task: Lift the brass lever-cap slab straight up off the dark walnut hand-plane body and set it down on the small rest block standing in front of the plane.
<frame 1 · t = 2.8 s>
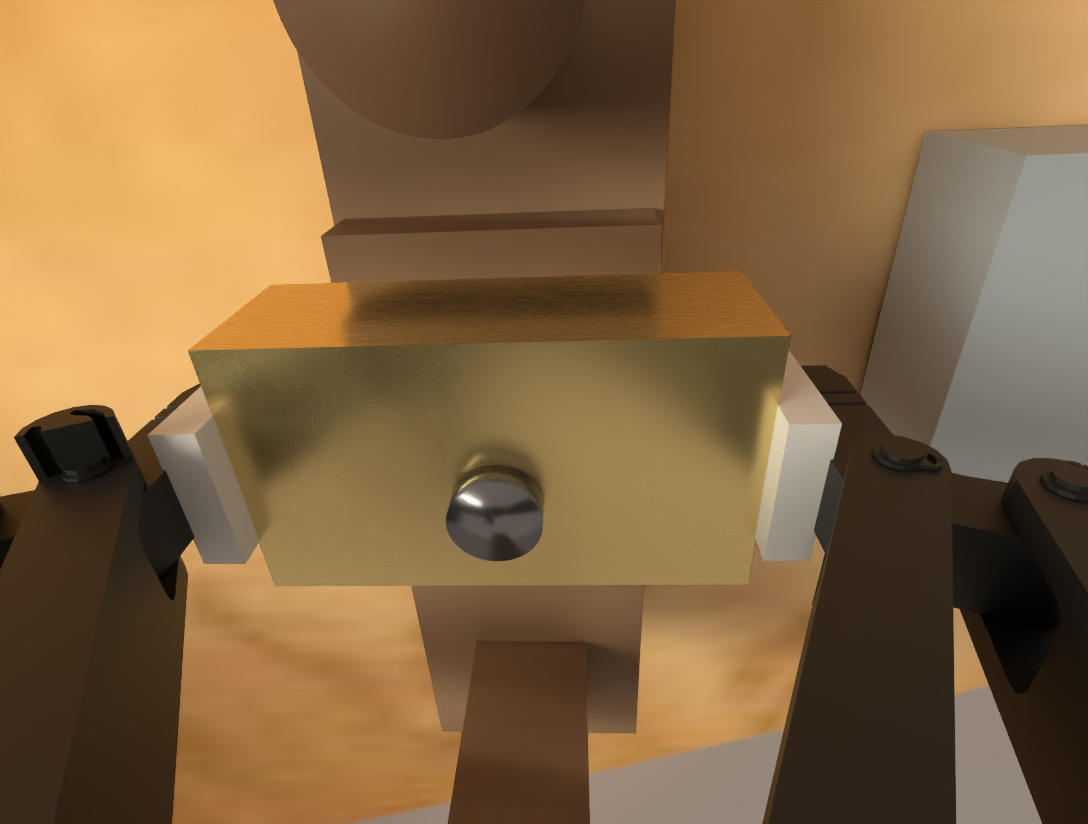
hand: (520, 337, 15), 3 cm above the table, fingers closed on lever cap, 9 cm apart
plane body: (529, 326, 19), on the table
rest block: (967, 282, 17), on the table
lever cap: (510, 393, 13), point 6 cm above the table, touching gripper, plane body
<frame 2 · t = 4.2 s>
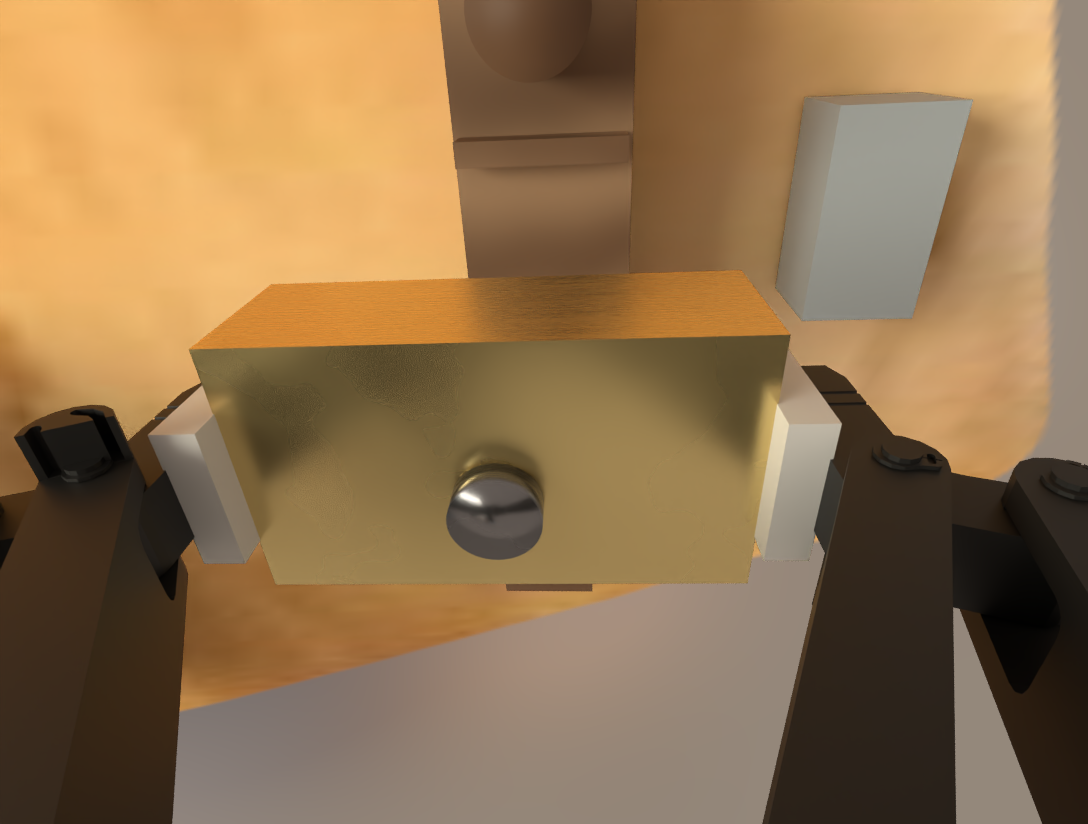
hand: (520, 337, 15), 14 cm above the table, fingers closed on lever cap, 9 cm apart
plane body: (553, 230, 28), on the table
rest block: (840, 198, 27), on the table
lever cap: (510, 392, 13), point 17 cm above the table, touching gripper
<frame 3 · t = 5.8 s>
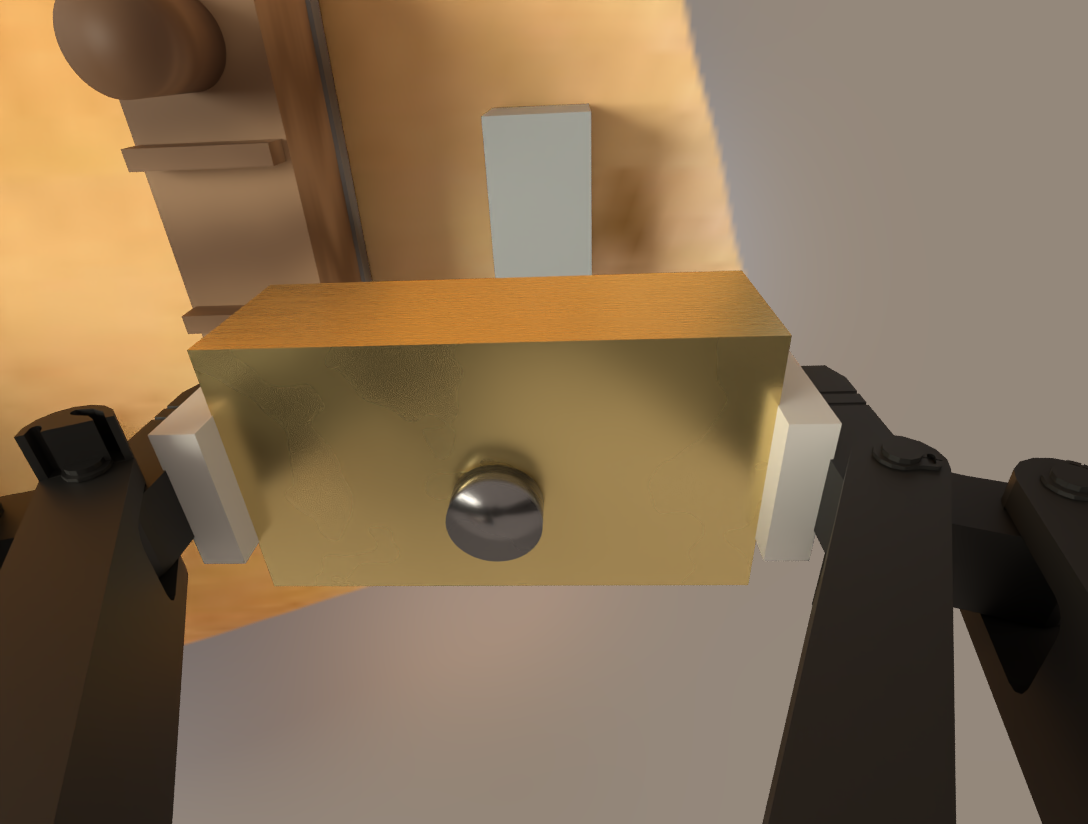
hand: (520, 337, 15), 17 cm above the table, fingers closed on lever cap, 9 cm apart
plane body: (299, 226, 31), on the table
rest block: (543, 196, 30), on the table
lever cap: (510, 393, 13), point 20 cm above the table, touching gripper
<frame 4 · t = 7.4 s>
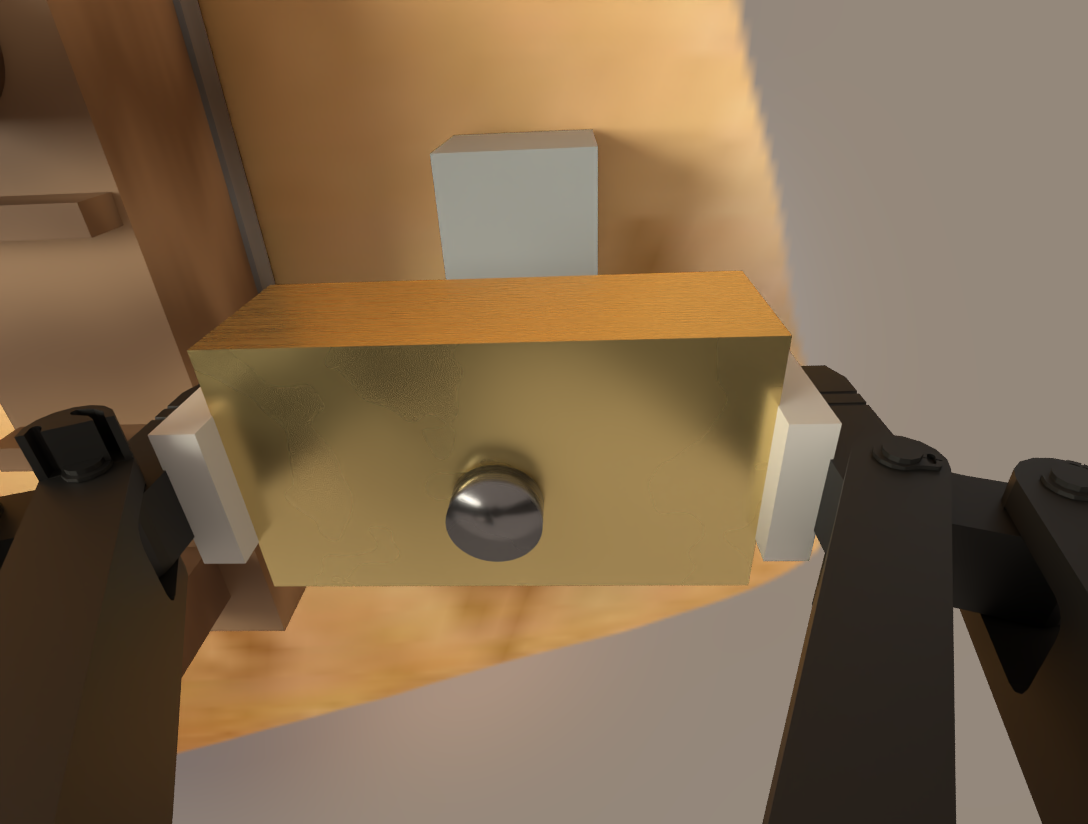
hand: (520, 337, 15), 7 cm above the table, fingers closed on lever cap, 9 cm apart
plane body: (192, 295, 23), on the table
rest block: (529, 256, 22), on the table
lever cap: (510, 393, 13), point 10 cm above the table, touching gripper
when the fingers open (2 cm above the table, at t = 8.9 s): lever cap drops 1 cm, resting on rest block.
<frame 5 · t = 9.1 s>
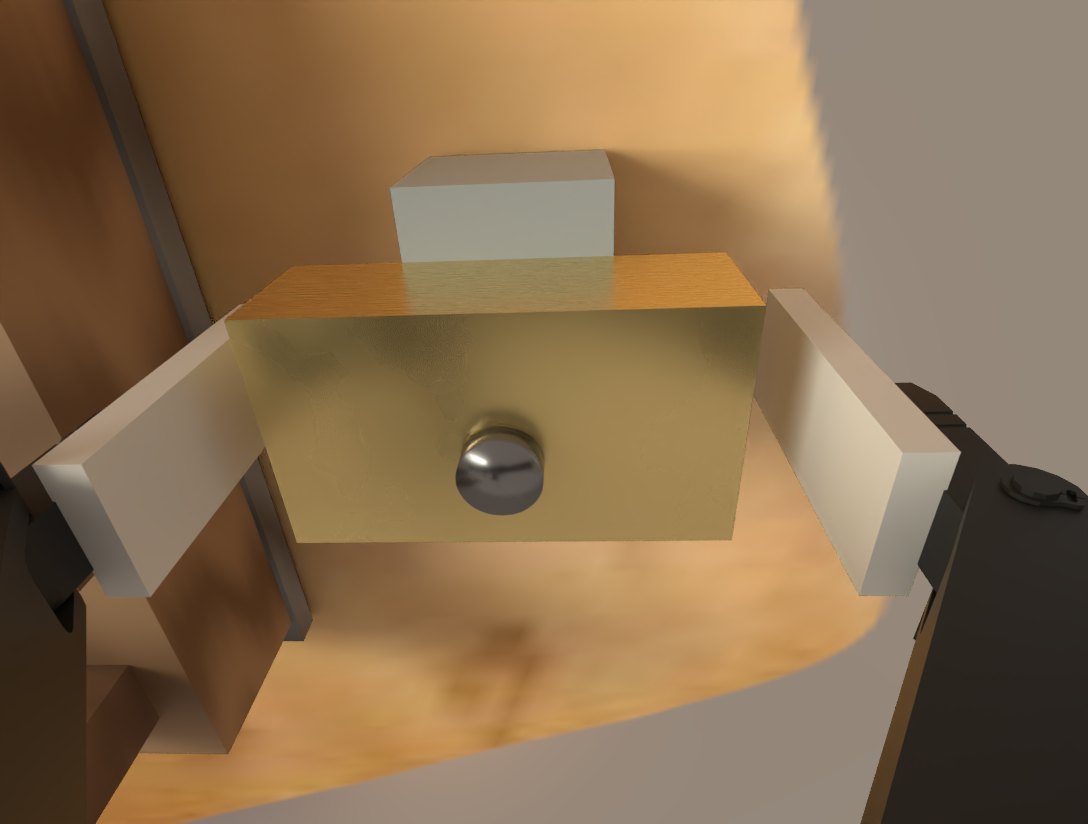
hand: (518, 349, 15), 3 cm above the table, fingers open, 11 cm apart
plane body: (116, 347, 19), on the table
rest block: (526, 304, 17), on the table
lever cap: (513, 367, 14), point 4 cm above the table, touching rest block
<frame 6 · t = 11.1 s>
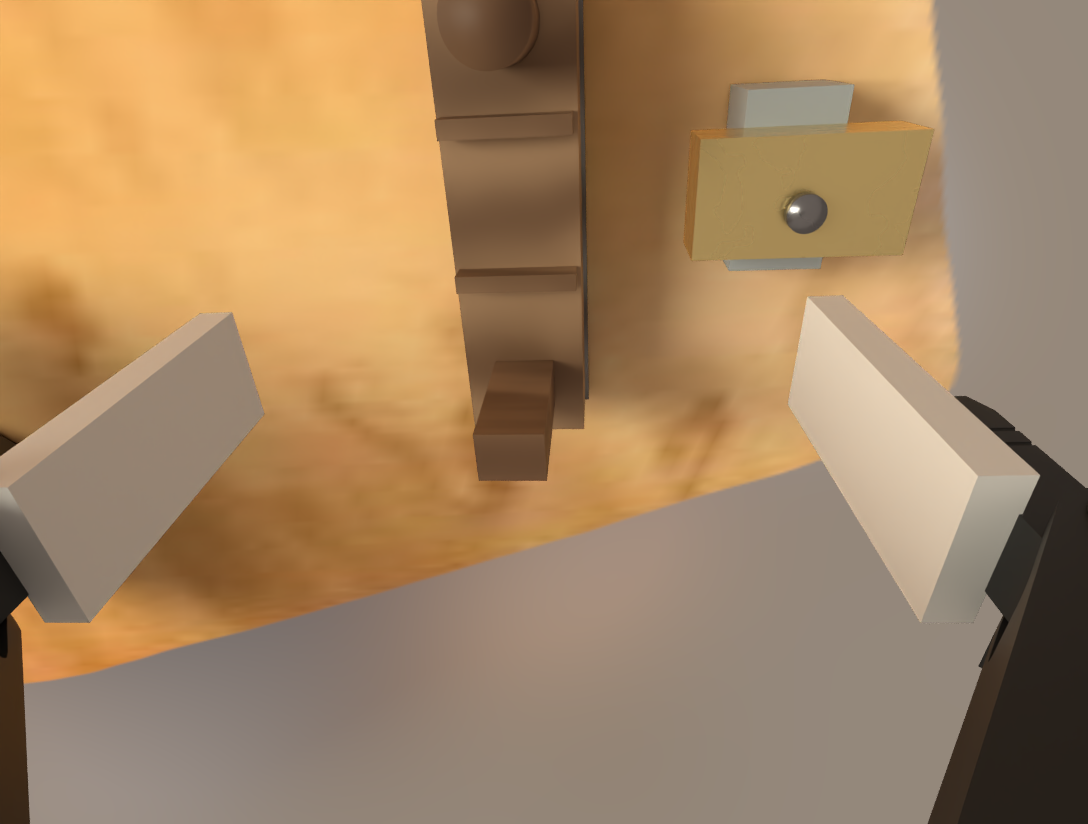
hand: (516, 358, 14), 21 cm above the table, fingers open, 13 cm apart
plane body: (526, 198, 33), on the table
rest block: (765, 169, 32), on the table
lever cap: (786, 184, 28), point 4 cm above the table, touching rest block
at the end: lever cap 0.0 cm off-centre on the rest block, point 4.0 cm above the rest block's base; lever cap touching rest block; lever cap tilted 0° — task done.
